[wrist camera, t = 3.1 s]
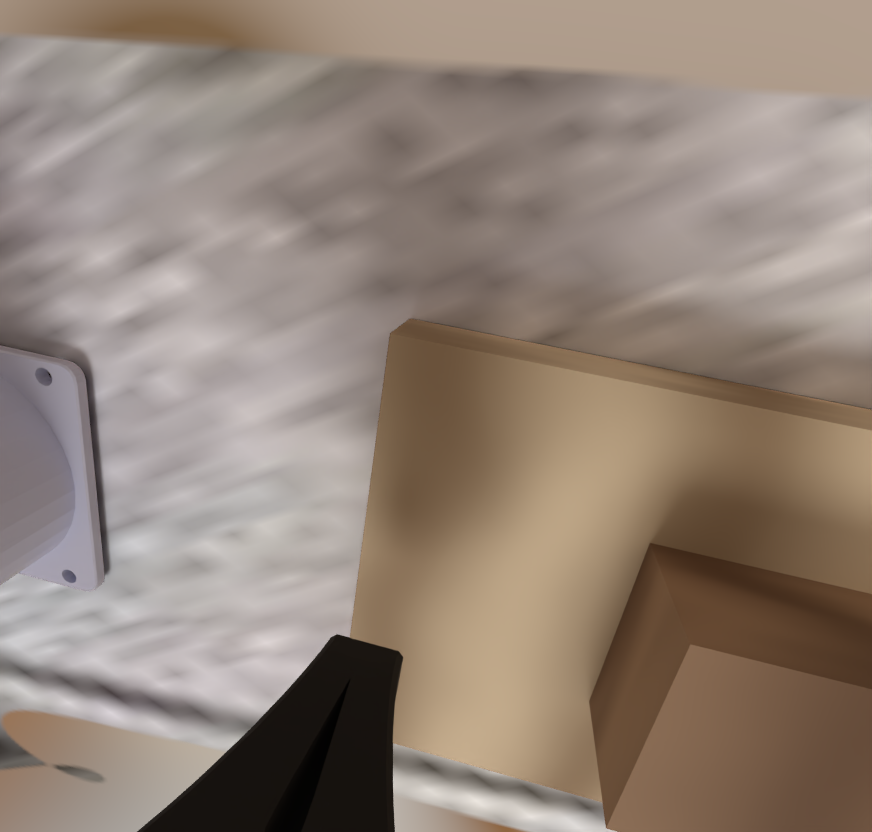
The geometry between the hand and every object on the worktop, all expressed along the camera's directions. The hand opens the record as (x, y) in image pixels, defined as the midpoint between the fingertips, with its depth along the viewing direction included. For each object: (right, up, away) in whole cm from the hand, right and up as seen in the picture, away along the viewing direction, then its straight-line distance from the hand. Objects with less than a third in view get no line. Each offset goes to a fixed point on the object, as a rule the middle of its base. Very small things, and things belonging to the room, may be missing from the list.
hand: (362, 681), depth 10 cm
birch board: (+7, +1, +4) cm, 8 cm away
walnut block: (+9, -1, +2) cm, 9 cm away
